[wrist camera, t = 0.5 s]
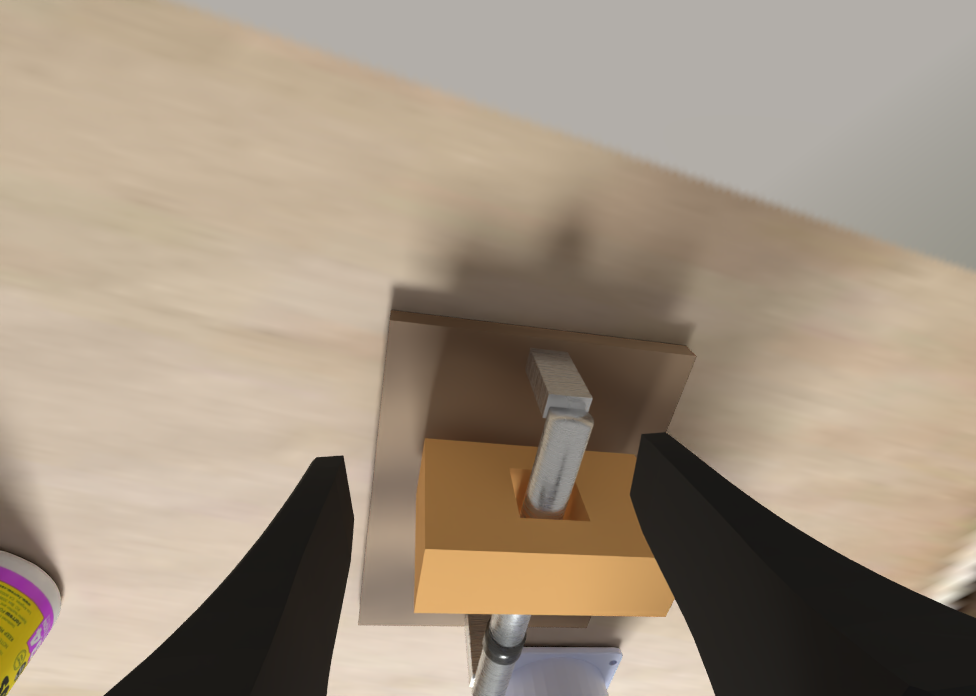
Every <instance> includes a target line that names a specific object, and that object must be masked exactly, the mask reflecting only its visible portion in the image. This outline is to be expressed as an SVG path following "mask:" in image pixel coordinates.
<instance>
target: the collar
mask: <svg viewBox="0 0 976 696" xmlns="http://www.w3.org/2000/svg"><path fill="white" fill-rule="evenodd" d="M537 450H538V447H532V446H519V445H506V444H493V443H480V442H467V441H455V440H442V439H429V438H425V440H424V447H423V453H422V460H421V466H420V473H419V479H418V486H417V492H416V529H415V581H414V613H448V614H514V615H580V616H646V617H666V615H667V613H668V611H669V609H670V607H671V605H672V603H673V601H674V599H675V598H674V596H673V594H672V592H671V590H670V588H669V586H668V584H667V582H666V580H665V578H664V576H663V574H662V572H661V570H660V568H659V566H658V564H657V562H656V560H655V558H654V555H653V553H652V551H651V549H650V547H649V545H648V543H647V541H646V539H645V537H644V535H643V533H642V530H641V527H640V524H639V521H638V519H637V516H636V513H635V510H634V507H633V504H632V501H631V498H630V490H631V485H632V480H633V475H634V470H635V464H636V459H637V458H636V457H635V455H634V454H623V453H610V452H597V451H585V452H584V455H583V458H582V461H581V464H580V467H579V471H578V474H577V477H576V480H575V483H574V486H573V489H572V492H571V495H570V498H569V501H568V504H567V507H566V510H565V513H564V516H563V519H562V520H553V519H534V518H520V511H521V508H522V504H523V501H524V497H525V493H526V490H527V486H528V482H529V479H530V475H531V472H532V468H533V464H534V461H535V457H536V453H537Z"/></svg>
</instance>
